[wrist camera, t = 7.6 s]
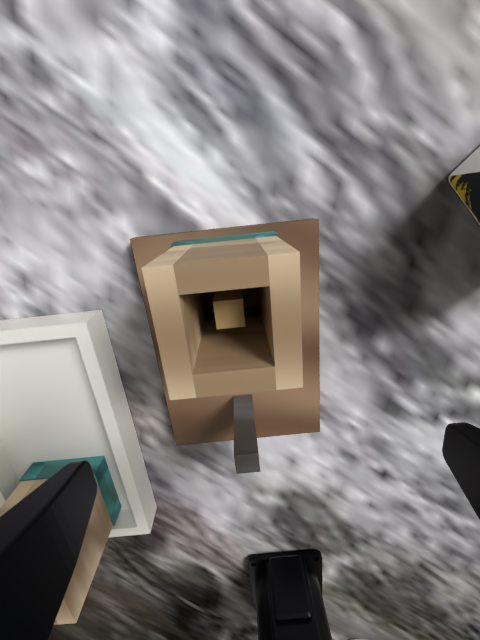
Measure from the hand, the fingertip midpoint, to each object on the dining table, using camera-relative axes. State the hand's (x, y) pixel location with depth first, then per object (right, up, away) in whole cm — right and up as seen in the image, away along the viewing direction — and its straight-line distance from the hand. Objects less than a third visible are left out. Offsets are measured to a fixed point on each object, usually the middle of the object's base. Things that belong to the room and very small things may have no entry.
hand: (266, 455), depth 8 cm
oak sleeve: (-1, +5, +9) cm, 11 cm away
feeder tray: (-13, -4, +14) cm, 20 cm away
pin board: (-1, +2, +12) cm, 12 cm away
